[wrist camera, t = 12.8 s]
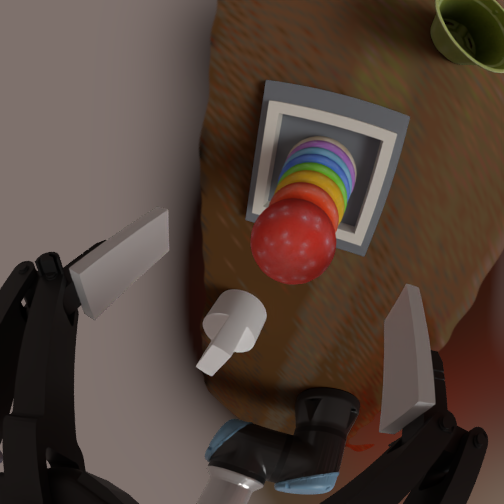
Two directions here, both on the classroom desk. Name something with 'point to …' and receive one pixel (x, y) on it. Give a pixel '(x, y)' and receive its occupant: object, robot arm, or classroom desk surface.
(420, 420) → the robot arm
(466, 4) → the plant pot
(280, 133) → the board
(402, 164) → the classroom desk surface
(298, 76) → the classroom desk surface
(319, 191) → the stacking toy
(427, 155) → the classroom desk surface
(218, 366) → the cylinder with rectangular tab
